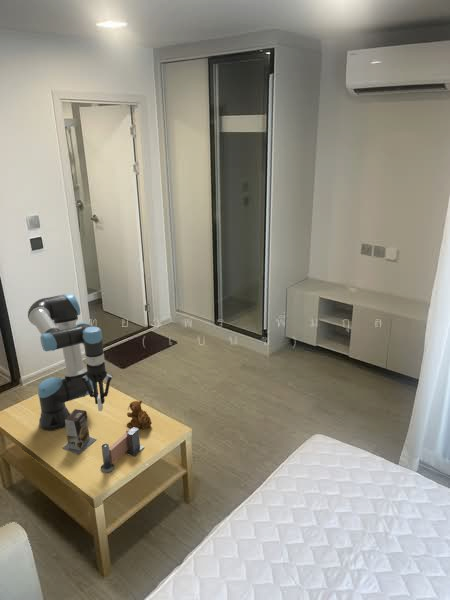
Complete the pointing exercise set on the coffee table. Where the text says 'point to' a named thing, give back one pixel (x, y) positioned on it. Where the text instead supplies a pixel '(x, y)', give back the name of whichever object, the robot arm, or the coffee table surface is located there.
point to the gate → (118, 448)
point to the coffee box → (77, 429)
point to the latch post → (133, 442)
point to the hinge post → (106, 460)
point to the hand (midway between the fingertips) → (100, 409)
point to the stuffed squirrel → (138, 416)
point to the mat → (82, 447)
